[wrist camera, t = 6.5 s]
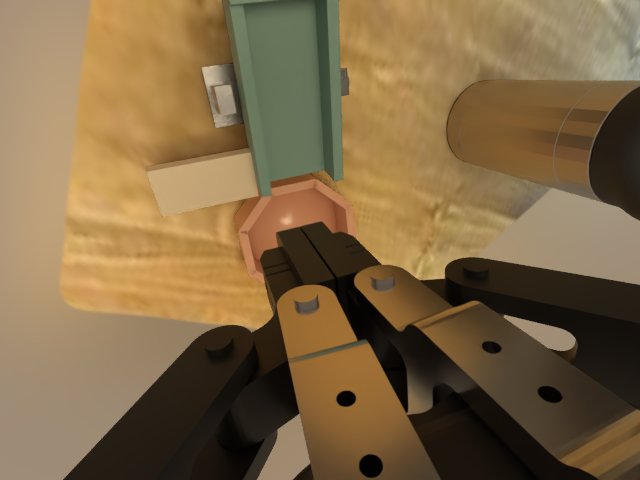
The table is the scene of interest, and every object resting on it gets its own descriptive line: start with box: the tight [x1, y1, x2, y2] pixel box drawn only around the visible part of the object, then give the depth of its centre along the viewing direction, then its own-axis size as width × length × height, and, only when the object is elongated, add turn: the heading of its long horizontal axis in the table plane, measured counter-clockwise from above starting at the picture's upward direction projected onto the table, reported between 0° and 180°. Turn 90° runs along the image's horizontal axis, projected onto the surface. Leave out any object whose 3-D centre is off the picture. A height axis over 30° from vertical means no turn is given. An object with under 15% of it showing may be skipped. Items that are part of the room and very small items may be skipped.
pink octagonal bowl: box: [234, 173, 356, 283], centre depth 39 cm, size 12×12×4 cm
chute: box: [146, 0, 343, 217], centre depth 28 cm, size 15×15×6 cm
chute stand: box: [201, 63, 349, 128], centre depth 32 cm, size 11×5×7 cm, turn 98°
